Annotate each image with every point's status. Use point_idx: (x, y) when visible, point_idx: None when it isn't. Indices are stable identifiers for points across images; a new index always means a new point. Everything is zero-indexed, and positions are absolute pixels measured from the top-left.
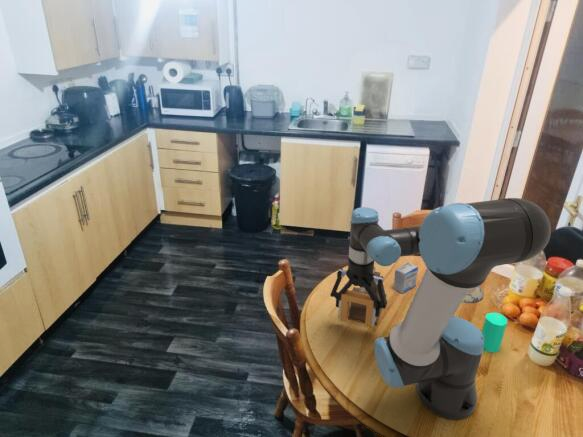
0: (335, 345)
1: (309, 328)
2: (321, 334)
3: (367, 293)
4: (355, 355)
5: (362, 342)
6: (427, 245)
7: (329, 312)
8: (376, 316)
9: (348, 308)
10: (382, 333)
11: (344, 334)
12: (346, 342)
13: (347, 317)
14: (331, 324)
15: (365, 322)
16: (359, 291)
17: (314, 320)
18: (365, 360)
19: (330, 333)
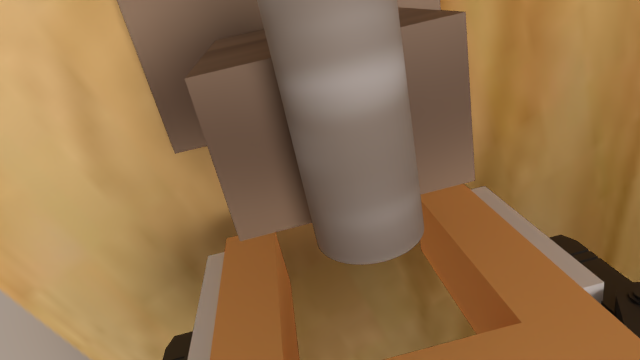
0: (298, 350)
1: (99, 343)
2: None
3: (411, 107)
4: (410, 342)
5: (408, 258)
6: None
7: (82, 154)
8: None
9: (285, 305)
10: (486, 128)
11: (295, 266)
12: (335, 305)
13: (283, 265)
14: (180, 245)
15: (436, 269)
16: (351, 255)
17: (66, 278)
18: (460, 338)
19: None
